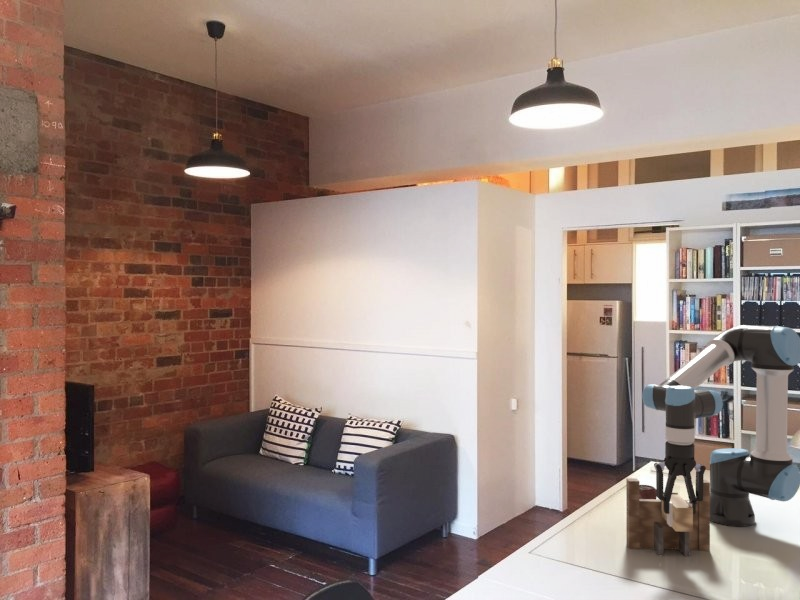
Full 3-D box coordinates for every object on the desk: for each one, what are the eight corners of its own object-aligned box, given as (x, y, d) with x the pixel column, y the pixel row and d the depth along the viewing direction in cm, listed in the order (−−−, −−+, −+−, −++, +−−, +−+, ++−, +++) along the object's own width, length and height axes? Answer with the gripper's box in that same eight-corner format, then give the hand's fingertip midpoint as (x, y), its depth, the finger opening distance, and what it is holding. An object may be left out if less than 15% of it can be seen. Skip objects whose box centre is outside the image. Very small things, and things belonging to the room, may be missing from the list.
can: (658, 535, 207) (658, 490, 207) (636, 533, 209) (636, 489, 208) (654, 528, 213) (654, 484, 213) (633, 526, 215) (633, 483, 214)
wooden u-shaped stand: (706, 546, 198) (706, 479, 197) (715, 556, 190) (715, 487, 190) (626, 544, 200) (626, 478, 199) (633, 554, 192) (632, 485, 192)
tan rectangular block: (677, 515, 195) (677, 492, 195) (693, 531, 182) (693, 507, 182) (660, 515, 195) (661, 492, 195) (675, 531, 182) (675, 506, 182)
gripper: (707, 439, 189) (707, 521, 189) (643, 438, 190) (643, 519, 191) (717, 445, 181) (717, 531, 181) (651, 444, 183) (650, 528, 183)
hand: (679, 525), depth 186 cm, fingers closed on tan rectangular block, 4 cm apart
